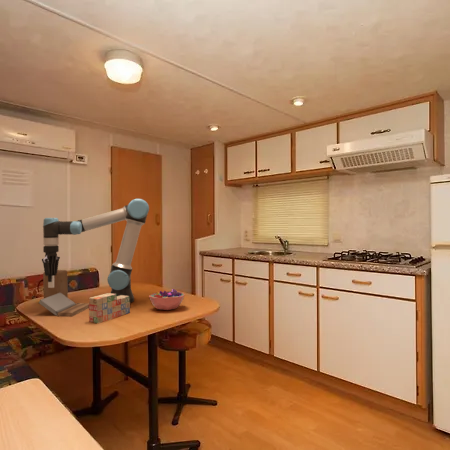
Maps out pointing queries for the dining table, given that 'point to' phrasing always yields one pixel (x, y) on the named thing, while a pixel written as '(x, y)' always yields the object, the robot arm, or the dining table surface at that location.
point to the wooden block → (56, 284)
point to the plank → (56, 303)
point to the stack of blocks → (108, 307)
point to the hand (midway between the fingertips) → (51, 287)
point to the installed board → (73, 310)
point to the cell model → (167, 299)
